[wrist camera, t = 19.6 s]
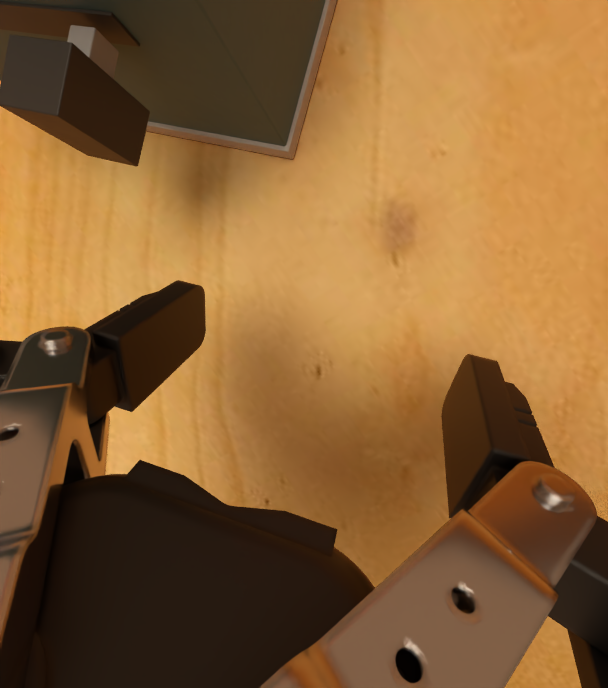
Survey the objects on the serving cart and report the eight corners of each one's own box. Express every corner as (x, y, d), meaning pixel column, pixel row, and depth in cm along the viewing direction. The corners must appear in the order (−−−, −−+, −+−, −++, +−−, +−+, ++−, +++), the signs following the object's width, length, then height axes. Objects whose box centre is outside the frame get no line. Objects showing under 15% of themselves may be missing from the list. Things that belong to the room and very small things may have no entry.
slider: (138, 166, 13) (57, 115, 10) (87, 155, 14) (-4, 103, 10) (158, 77, 13) (81, -5, 10) (106, 69, 13) (16, -11, 10)
